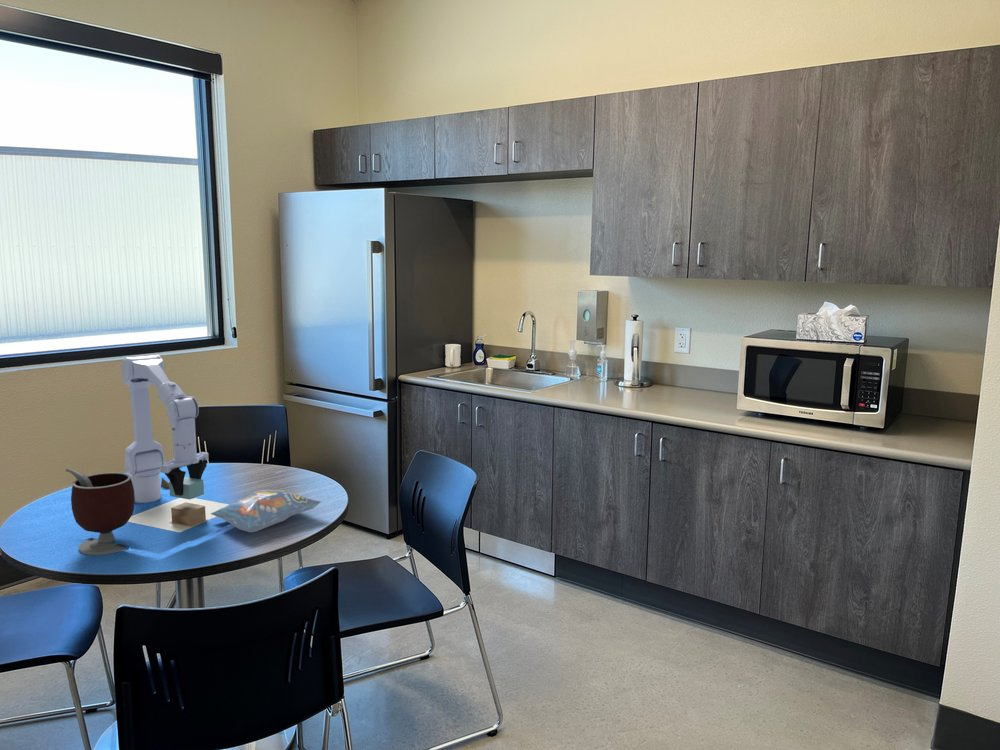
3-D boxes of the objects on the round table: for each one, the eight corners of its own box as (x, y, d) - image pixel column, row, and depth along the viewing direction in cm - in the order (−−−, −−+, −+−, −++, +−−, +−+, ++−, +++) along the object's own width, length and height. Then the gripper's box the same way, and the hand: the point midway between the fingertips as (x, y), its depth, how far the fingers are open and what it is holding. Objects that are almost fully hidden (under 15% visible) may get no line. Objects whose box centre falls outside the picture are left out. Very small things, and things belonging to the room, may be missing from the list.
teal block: (169, 495, 195) (169, 481, 194) (184, 490, 200) (183, 476, 199) (189, 499, 192) (189, 485, 192) (204, 494, 197) (203, 479, 196)
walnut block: (171, 522, 196) (171, 507, 196) (186, 516, 201) (185, 502, 200) (191, 526, 194) (191, 511, 193) (205, 519, 198) (205, 505, 198)
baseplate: (121, 524, 197) (120, 519, 197) (184, 500, 217) (183, 495, 217) (179, 536, 190) (179, 532, 189) (239, 510, 210) (239, 506, 209)
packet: (321, 518, 205) (321, 488, 204) (246, 542, 187) (245, 510, 185) (285, 504, 215) (284, 477, 214) (210, 526, 197) (209, 496, 196)
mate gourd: (147, 534, 190) (142, 461, 187) (121, 556, 177) (115, 477, 174) (87, 534, 190) (81, 460, 187) (56, 556, 176) (49, 476, 173)
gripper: (174, 451, 186) (177, 502, 188) (216, 438, 199) (218, 486, 201) (153, 447, 188) (156, 498, 190) (196, 435, 201) (198, 482, 204)
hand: (187, 491), depth 196 cm, fingers closed on teal block, 5 cm apart
